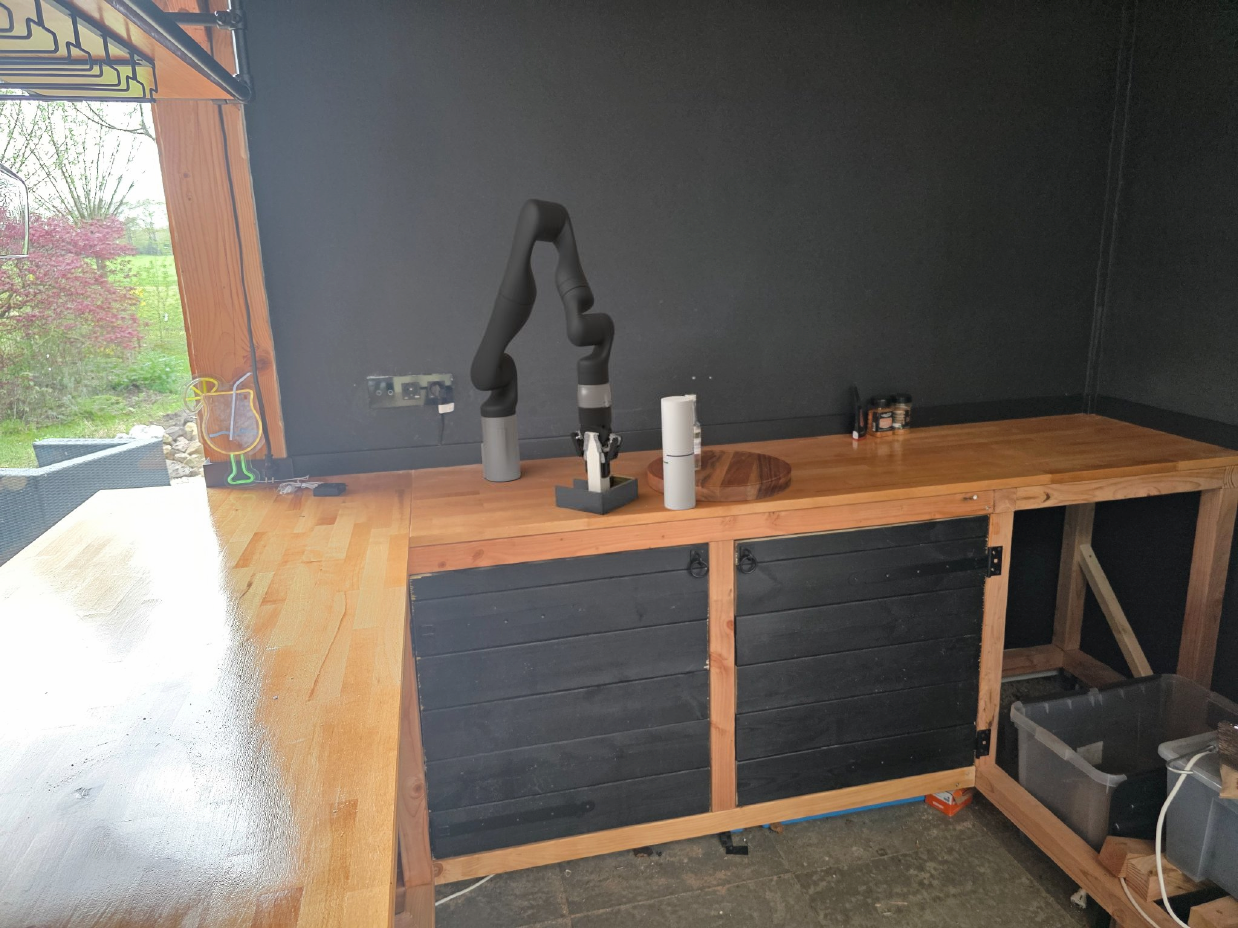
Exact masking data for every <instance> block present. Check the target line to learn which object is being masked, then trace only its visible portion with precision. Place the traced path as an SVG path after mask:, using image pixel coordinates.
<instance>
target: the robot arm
mask: <svg viewBox="0 0 1238 928" xmlns="http://www.w3.org/2000/svg"><path fill="white" fill-rule="evenodd" d="M536 242H543V243H544V242H546V243H552V244H553V245H554V247H555V249H556V251H557V253H558V261H557V266H556V268H555V273H554V282H555V287H556V290H557V292H558V295H559V297H560V300H561V301H562V305H563V308H564V315H565V323H566V324H565V328H566V336H567V339H568V341H569V342H570V343H571V344H572V345H573V346H575V347H579V348H584V347H585V348H586V347H591V346H593V349H592V351H591V353H589V354H588V355H585V356H583V357H581V358H579V359H578V360H577V362H576V374H577V375H576V376H577V377H576V378H577V394H576V395H577V396H576V397H577V410H578V413H577V414H578V424H579V425H580V427H579V430H576V431H572V432H571V433H570V435H569V436H570V438H571V440H572V443H573V446H574V449H575V453H576V455H577V457H579V458H583V459H584V463H585V464H584V465H585V473H586V475H587V476H588V468H587V451H588V444H589V436H590V435H589V433H586V432H594V433H599V435H598V434H594V435H593V438H594V441H595V443H596V448H597V452H598V453H600V459H601V462H602V463H601V477H602V478H604V479H605V478H607V477H609V476H610V475H611V462H612V461H614V460H617V459H618V456H619V453H620V450H621V447H622V442H623V439H624V438H623V435H617V434H615V433H614V431H613V429H612V427H611V425H612V423H613V414H612V395H611V394H612V393H611V387H610V375H609V374H610V373H609V364H610V363H609V362H610V357H611V352H612V351H611V350H612V346H613V343H614V339H615V334H616V333H615V331H616V330H615V329H616V328H615V323H614V321H613V319H612V317H611V316H610V315H609V314H608V313H606V312H594V313H586V312H588V311H589V310H591V309H592V308H593V306H594V305H595V297H594V294H593V291H592V289H591V287H590V285H589V282H588V280H587V277H586V275H585V272H584V270H583V267H582V264H581V260H580V255H579V250H578V246H577V241H576V238H575V233H574V228H573V224H572V219H571V216H570V214H569V211H568V209H567V208H566V206H565V205H563V204H562V203H560V202H554V201H548V200H543V199H536V198H530V199H527V200H525V202H524V203H523V205H522V206H521V208H520V210H519V213H518V217H517V222H516V225H515V229H514V234H513V239H512V243H511V248H510V252H509V257H508V261H507V263H506V267H505V270H504V274H503V277H502V280H501V283H500V284H499V288H498V291H497V295H496V297H495V300H494V304H493V308H492V311H491V314H490V317H489V320H488V322H487V325H486V328H485V331H484V335H483V337H482V339H481V342H480V344H479V346H478V348H477V350H476V352H475V355H474V357H473V359H472V363H471V366H470V371H469V372H470V373H469V374H470V381H471V383H472V385H473V387H474V388H475V389H476V390H478V391H482V392H490V394H489V396H488V398H487V399H486V400H485V401H484V402H483V403H482V404H481V405H480V409H479V410H480V420H481V421H480V422H481V431H482V442H481V443H480V449H481V450H480V451H481V460H482V461H481V462H482V473H483V479H486V480H488V481H489V482H490V481H491V482H499V483H500V482H508V481H514V480H517V479H519V478H521V477H522V473H521V458H520V448H519V446H520V445H519V435H518V422H517V404H518V402H519V397H518V396H519V394H518V393H519V390H518V388H519V387H518V385H519V384H518V369H517V365H516V362H515V360H514V358H513V357H512V356H511V355H510V354H509V353H506V352H505V350H507V347H508V346H509V344H510V343H511V342H512V341H513V339H514V338H516V336H517V335H518V333H519V332H520V331H522V329H523V327H524V326H526V324H527V322H528V320H529V318H530V316H531V314H532V311H533V308H534V304H535V303H536V299H537V293H538V291H537V285H536V283H537V282H536V279H535V277H534V273H533V269H532V261H531V259H532V253H533V250H534V246H535V243H536ZM584 313H585V314H584ZM586 442H587V443H586ZM604 446H606V447H605V448H602V447H604ZM605 456H606V457H605Z"/></svg>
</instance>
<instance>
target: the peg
mask: <svg viewBox="0 0 1238 928" xmlns="http://www.w3.org/2000/svg"><path fill="white" fill-rule="evenodd" d="M586 433H589V435H590V436H589V444H588V451H587V468H588V475H587V480H588V486H589V491H595V492H603V491H606V490H608V489H610V482H609V477H607V478H605V479H604V478H602V477H601V463H602V462H601V459H600V453H598V452H597V448H596V443H595V441H594V438H593V435H594V434H598V435H599V433H594V432H586ZM586 443H587V442H586ZM605 447H606V446H604V447H602V448H605ZM605 457H606V456H605Z"/></svg>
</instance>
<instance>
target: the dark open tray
mask: <svg viewBox="0 0 1238 928" xmlns="http://www.w3.org/2000/svg"><path fill="white" fill-rule="evenodd" d="M638 480H639V479H638V477H631V476H625V475H620V474H619V475H618V474H610V475H609V482H610V489H608V490H606V491H603V492H595V491H589V486H588V479H582V478H576V477H574V478H572V484H573V485H572V486H573V487H570V486H564V485H558V484H557V485H554V496H555V506H556V507H557V506H560V507H559V508H563V509H568V510H573V509H574V511H578V512H579V511H580V512H585V513H591V514H596V515H600V516H601V515H602V516H604V515H605V514H606V515H607V514H608V513H610V512H612V511H614V510H616V509H619V508H621V507H623V506H625V505H627V504H629V503H631V502H634V501H636V500H639V497H640V496H639V481H638Z"/></svg>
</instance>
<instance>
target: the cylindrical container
mask: <svg viewBox="0 0 1238 928" xmlns="http://www.w3.org/2000/svg"><path fill="white" fill-rule="evenodd" d="M660 406H661V412H660V413H661V436H662V437H661V438H662V441H661V442H662V460H663V461H662V462H663V463H662V465H663V466H662V467H663V495H664V497H663V499H664V501H663V502H664V508H665V509H668V510H672V511H673V510H674V511H684V510H685V511H686V510H690V509H693V508H695V507H696V477H695V476H696V475H695V473H696V472H695V468H696V466H695V435H694V434H695V432H694V398H693V397H691V396H686V395H683V396H682V395H673V396H667V397H662V398H661V399H660Z"/></svg>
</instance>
